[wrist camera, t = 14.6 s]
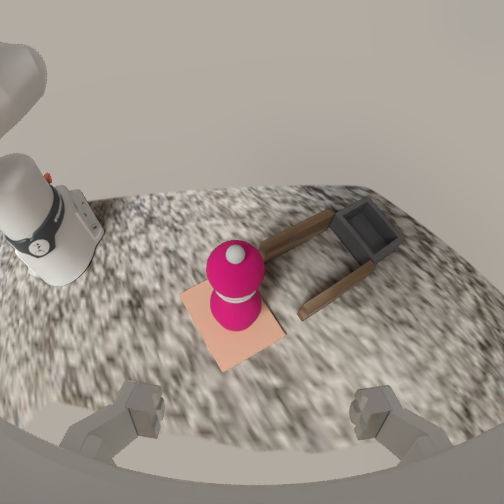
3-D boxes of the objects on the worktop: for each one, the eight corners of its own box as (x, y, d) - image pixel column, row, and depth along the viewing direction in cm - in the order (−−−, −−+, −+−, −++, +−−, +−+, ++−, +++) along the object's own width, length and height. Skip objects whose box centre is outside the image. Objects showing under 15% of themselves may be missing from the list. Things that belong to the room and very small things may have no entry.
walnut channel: (258, 257, 49) (260, 242, 44) (321, 223, 52) (328, 208, 48) (302, 321, 44) (309, 312, 39) (364, 278, 48) (376, 266, 43)
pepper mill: (226, 343, 41) (218, 302, 23) (204, 303, 44) (182, 236, 26) (268, 320, 43) (291, 264, 25) (244, 282, 46) (250, 206, 28)
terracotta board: (179, 295, 45) (179, 294, 44) (238, 264, 48) (238, 263, 47) (222, 372, 39) (222, 372, 39) (285, 335, 42) (285, 335, 42)
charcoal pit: (328, 225, 52) (334, 213, 49) (360, 208, 55) (367, 196, 51) (365, 271, 48) (374, 261, 45) (395, 249, 51) (404, 239, 47)
